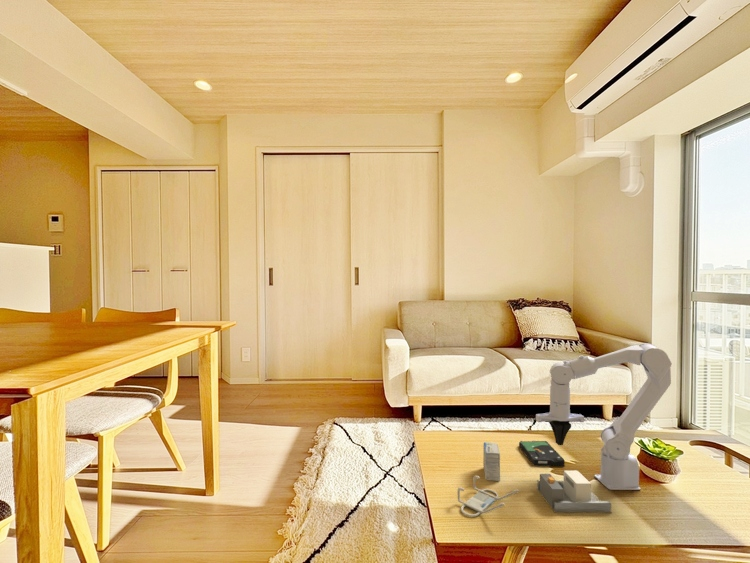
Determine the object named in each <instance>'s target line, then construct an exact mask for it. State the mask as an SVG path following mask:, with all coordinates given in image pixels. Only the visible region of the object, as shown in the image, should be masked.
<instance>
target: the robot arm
mask: <svg viewBox="0 0 750 563" xmlns="http://www.w3.org/2000/svg"><path fill="white" fill-rule="evenodd" d="M625 363H630V364H633V365H636V366H642V367H643V369H644V371H645V374H646V377H647V379H646V380H645V382H644V383H643V385H642V386H641V387H640V388H639V390H638V392H636V394H635V396H634V397H633V399H632V400H631V401H630V403H629V404H628V405H627V406H626V407H625V408H626V409H625V410H624V411H623V412H622V414H621V415H620V416H619V418H618V419H616V420H615V421H612V423H611V424H610V425H609V426H607V427H605V428H604V429H603V430H602V431H601V434H600V438H601V441H602V443H603V447H602V448H601V449H600V474H594V478H595V479H597V480H598V481H599V482H600V483H601V484H602V485H603V486H605V488H606V489H608V490H609V491H613V490H615V491H632V490H633V491H639V490H641V487H640V486H639V485H640V484H639V482H640V466H639V462H638V460H637V458H636V457H635V456H634V455H633V454H632V453H630V452H631V446H632V444H633V443H634V440H635V434H636V432H637V431H638V429H639V428H640V427H641V425H642V424H643V422H644V421H645V420H646V418H647V417H648V416H649V414H650V413H651V412H652V410H653V409H654V408H655V406H656V405H657V403H658V402H659V401H660V399H661V398H662V397H663V395H664V394H665V393H666V392H667V390H668V388H670V386H671V384H672V375H671V374H672V373H671V372H672V371H671V367H672V361H671V359H670V358H669V355H668V354H667V352H665V351H664V350H663V349H661V348H659V347H657V346H656V345H655V344H653V343H649V342H644V343H641V344H639V345H638V344H637V345H636V344H635V345H634V344H633V345H631V346H628V347H624V348H621V349H618V350H615V351H613V352H608V353H605V354H603V355H600V356H597V357H591V356H589V355H585V356H584V355H583V354H582V355H579V356H578V358H575V359H571V360H568V361H567V360H563V361H562V362H555V363H554V364H552V365H551V367H550V370H549V373H550V377H551V380H550V387H549V388H550V390H549V394H550V395H549V397H550V398H549V400H550V401H549V412H545V413H536V414H535V421H537V423H542V422H548V423H549V425H550V427H551V429H552V432H553V435H554V440H555V443H556V444H557V445H558V446H563V445H564V442H565V440H566V437H567V434H568V432H569V431H570V429H571V428H572V422H576V423H577V422H579V423H584V422H585V416H584V415H582V414H581V413H579V414H578V413H571V409H570V408H571V387H570V383H571V380H578V379H581V378H584V377H585V378H586V377H588V376H589V377H590V376H592V375H595V374H597V372H598V370H599V369H603V368H607V367H610V366H615V365H620V364H625ZM570 422H571V423H570Z"/></svg>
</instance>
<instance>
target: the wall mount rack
mask: <svg viewBox="0 0 750 563" xmlns="http://www.w3.org/2000/svg"><path fill="white" fill-rule="evenodd" d="M476 479H477V480H480V476H479V475H474V476H473V478H472V483H473V488H474V490H476V491H478V492H476V493H475V494H474V495H473V496H472V497H470V498H469V499H468V500H467V501H463V500H461V497H460V496H461V495H460V494H461V493H460V492H464V491H465V488H464V487H461V486H460V487H458V488H457V501H458V502H459V503H460V504H462V505H461V507H460V511H461V512H462V514H463V515H464V516H466V517H472V518H474V517H478V516H480V515H481V514H486V513H489V512H491V511H494V510H496V509H499V508H502V507H504V506H505V503H504V502H501V503H500V502H499V504H498V505H495V506H493V507H491V506H492V505H493V504H494V503H495V502H496V501H500V500H503V499H505V498H508V497H510V496H512V495H516V494H518V493H519V492H520V490H519V489H514V490H513V491H512V492H509V493H507V494H505V495H502V496H500V497H499V493H498V492H497V491H495V490H493V489H490V488H484V489H480V488H478V487H477V486H476ZM489 492H491V493H493V494H494V495H493V494H491V493H489ZM465 507H466V508H468V509H471V510H473V511H474V512H476V513H474V514H473V513H468V512H466V511H465V510H464V508H465ZM489 507H490V508H489Z"/></svg>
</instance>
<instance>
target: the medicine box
mask: <svg viewBox="0 0 750 563" xmlns="http://www.w3.org/2000/svg"><path fill="white" fill-rule="evenodd" d="M482 463H483V471H484V472H483V473H484V479H485V480H486V481H491V482H492V481H495V482H500V481H501V454H500V449H499V446H498V443H496V442H490V441H489V442H484V441H483V461H482Z"/></svg>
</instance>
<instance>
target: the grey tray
mask: <svg viewBox="0 0 750 563" xmlns="http://www.w3.org/2000/svg"><path fill="white" fill-rule="evenodd" d="M556 481H557V482H558V483H559V485H560V486H561V487H562V488H563V484H564V480H556ZM536 484H537V486H536V488H537V489H536V490H537V491H538V492H539V493H540V495H541V496H542V497H543V499H544V500H545V501H546V503H547V504H548V505H549V507H550V509H552V510H553V513H559V514H560V513H561V514H562V513H565V514H566V513H569V514H570V513H571V514H574V513H576V514H577V513H579V514H580V513H582V514H583V513H584V514H585V513H588V514H589V513H590V514H591V513H593V514H594V513H599V514H601V513H602V514H603V513H606V514H608V513H609V514H610V513H611V514H612V502H611V501H609V500H602V501H601V500H600V498H598V496H596V495H595V494H594V492H592V491H591V501H572V500H571V499H570V498H569V497H568V496H567V494H566V493H565V492H564V497H563V501H554V507H552V506H551V505H550V504H549V503H548V501H547V500H546V499H545V497H544V496H543V495H542V493H541V492H540V480H537V483H536Z"/></svg>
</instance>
